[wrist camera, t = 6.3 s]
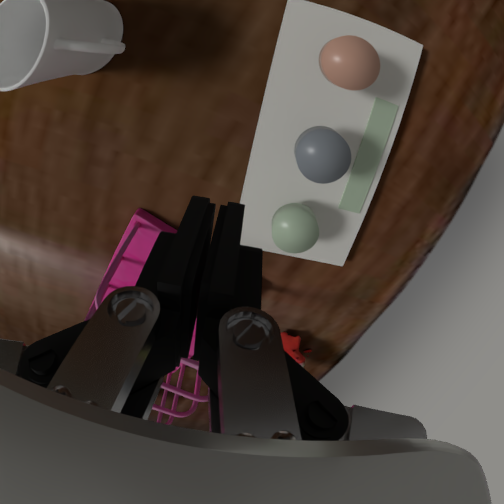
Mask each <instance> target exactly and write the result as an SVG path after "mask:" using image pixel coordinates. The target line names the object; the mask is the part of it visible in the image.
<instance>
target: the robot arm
mask: <svg viewBox="0 0 504 504" xmlns="http://www.w3.org/2000/svg"><path fill="white" fill-rule="evenodd" d="M215 206H216V204H213V203H210V198H205V197H199V196H192V198H191V200H190V203H189V205H188V207H187V210H186V212H185V214H184V217H183V219H182V221H181V224H180V226H179V228H178V231H177V233H171V232H165V231H161V232H160V233H159V235H158V237H157V239H156V241H155V243H154V245H153V248H152V250H151V252H150V254H149V256H148V258H147V260H146V263H145V265H144V267H143V269H142V271H141V273H140V276H139V278H138V280H137V282H136V285H135V286H125V287H121V288H118V289H116V290H114V291H112V292H110V293H109V294H108V296H107V297H106V298H105V299H104V300H103V302H102V303H101V304H100V306H99V307H98V309H97V310H96V312H95V313H94V315H93V316H92V317H91V319H88V320H86V321H84V322H81V323H79V324H77V325H74V326H72V327H70V328H67V329H65V330H62V331H60V332H58V333H55V334H53V335H51V336H48V337H46V338H43V339H41V340H39V341H36V342H35V343H33V344H31V345H30V346H26V345H25V344H24V342H19V341H11V340H4V339H0V504H491V498H490V493H489V489H488V485H487V481H486V478H485V475H484V472H483V469H482V467H481V465H480V463H479V462H478V460H477V459H476V458H475V457H474V456H473V455H472V454H471V453H470V452H468V451H466V450H464V449H462V448H460V447H458V446H455V445H452V444H450V443H447V442H442V441H437V440H431V439H427V435H426V430H425V428H424V426H423V424H422V423H421V422H419V421H418V420H417V419H416V418H413V417H410V416H405V415H399V414H395V413H390V412H385V411H379V410H375V409H370V408H366V407H362V406H357V405H353V406H352V407H347V406H344V405H343V404H342V403H341V402H340V400H339V399H338V398H337V397H335V396H334V395H333V394H332V393H331V392H330V391H329V390H327V389H326V388H325V387H324V386H323V385H322V384H321V383H320V382H319V381H317V380H316V379H315V378H314V377H313V376H312V375H311V374H310V373H309V372H307V371H306V370H305V369H304V368H303V367H302V366H301V365H300V364H299V363H298V362H297V361H295V360H294V359H293V358H292V357H291V356H290V355H289V354H288V353H287V352H286V351H285V350H284V348H283V343H282V338H281V333H280V329H279V327H278V324H277V322H276V321H275V320H274V319H273V318H272V317H271V316H270V315H269V314H267V313H266V312H264V311H262V310H261V288H262V248H256V247H250V246H245V245H240V241H241V233H242V225H243V218H244V210H245V204H239V203H234V202H228V205H227V206H225V205H221V206H220V210H219V213H218V217H217V221H216V225H215V229H214V233H213V237H212V241H211V235H212V227H213V220H214V213H215ZM210 242H211V245H210ZM196 318H197V321H196ZM195 322H196V332H195V344H194V357H193V360H197V361H199V368H198V375H199V376H200V377H201V378H202V379H203V381H204V382H205V383H206V384H207V385H208V386H209V387H208V405H209V427H210V432H205V431H199V430H193V429H188V428H182V427H177V426H172V425H167V424H162V423H158V422H153V421H149V420H147V419H148V417H149V414H150V412H151V409H152V407H153V404H154V402H155V400H156V397H157V395H158V393H159V390H160V388H161V385H162V383H163V380H164V376H165V375H166V374H168V373H170V372H172V371H174V370H175V369H176V367H179V366H180V361H181V358H186V359H188V356H189V351H190V346H191V341H192V337H193V332H194V327H195Z"/></svg>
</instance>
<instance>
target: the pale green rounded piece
mask: <svg viewBox="0 0 504 504" xmlns="http://www.w3.org/2000/svg"><path fill="white" fill-rule="evenodd" d="M318 237H319V227H318V223H317V220H316V216H315V214H314V212H313V211H312V210H311V209H310V208H309V207H308V206H306V205H304V204H300V203H290V204H286V205H284V206H282V207H280V208H279V209H278V210H277V211H276V212H275V214H274V215H273V218H272V238H273V241H274V243H275V245H276V246H277V247H278V248H279V249H281V250H283V251H285V252H288V253H302V252H305V251H307V250H309V249H310V248H312V247H313V246H314V245H315V243H316V242H317V240H318Z"/></svg>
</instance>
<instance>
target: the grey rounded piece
mask: <svg viewBox="0 0 504 504" xmlns="http://www.w3.org/2000/svg"><path fill="white" fill-rule="evenodd" d="M294 154H295V158H296V162H297V165H298V168H299V170H300V172H301V173H302V174H303V175H304V176H305V177H306V178H307V179H309V180H310V181H313V182H315V183H321V184H326V183H331V182H334V181H337V180H338V179H340V178H341V177H342V176H343V175H344V174H345V173H346V172H347V170H348V169H349V166H350V163H351V151H350V148H349V145H348V144H347V142H346V141H345V140H344V139H343V137H342V136H341V135H340V134H339V133H338V132H337V131H335V130H334V129H332V128H329V127H326V126H314V127H311V128H309V129H307V130H305V131H304V132H303V133H301V135H300V136H299V137H298V139H297V141H296V143H295V147H294Z"/></svg>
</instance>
